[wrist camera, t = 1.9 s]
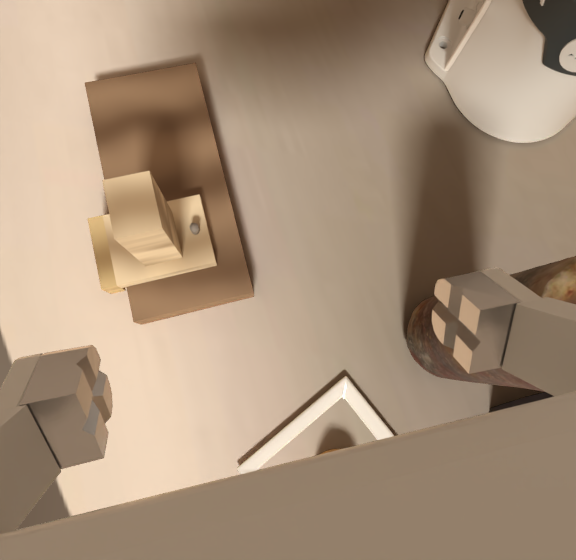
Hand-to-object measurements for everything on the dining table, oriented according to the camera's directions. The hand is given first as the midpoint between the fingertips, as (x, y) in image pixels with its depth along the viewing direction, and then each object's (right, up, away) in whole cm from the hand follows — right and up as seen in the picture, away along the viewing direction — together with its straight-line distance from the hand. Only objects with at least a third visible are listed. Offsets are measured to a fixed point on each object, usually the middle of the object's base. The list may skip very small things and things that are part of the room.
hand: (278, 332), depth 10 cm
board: (-10, +9, +30) cm, 33 cm away
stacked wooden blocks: (-11, +4, +27) cm, 30 cm away
